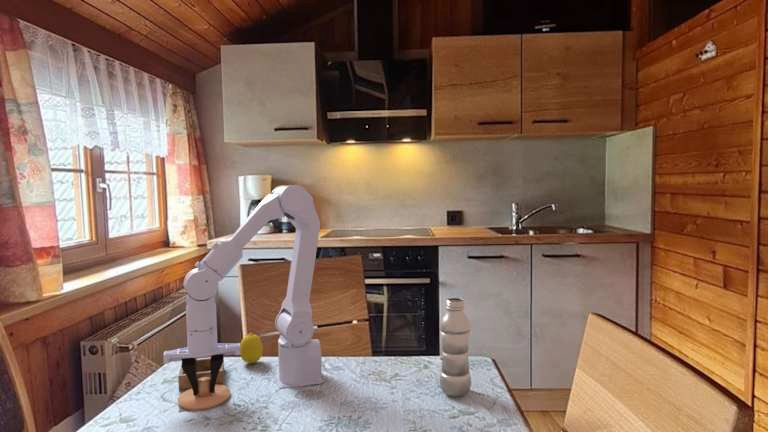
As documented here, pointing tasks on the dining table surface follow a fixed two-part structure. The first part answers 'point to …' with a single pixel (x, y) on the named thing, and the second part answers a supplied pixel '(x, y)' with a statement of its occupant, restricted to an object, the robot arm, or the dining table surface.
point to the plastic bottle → (455, 349)
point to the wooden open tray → (200, 373)
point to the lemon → (251, 348)
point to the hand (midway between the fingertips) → (204, 392)
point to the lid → (204, 396)
